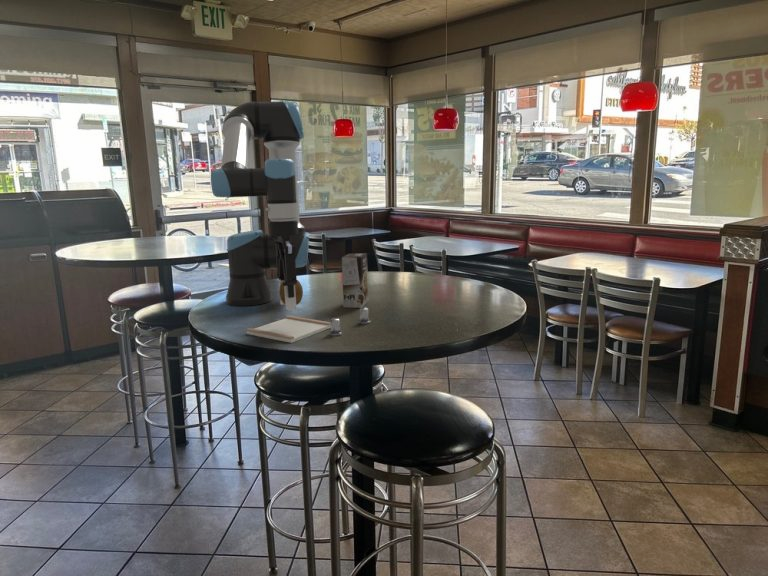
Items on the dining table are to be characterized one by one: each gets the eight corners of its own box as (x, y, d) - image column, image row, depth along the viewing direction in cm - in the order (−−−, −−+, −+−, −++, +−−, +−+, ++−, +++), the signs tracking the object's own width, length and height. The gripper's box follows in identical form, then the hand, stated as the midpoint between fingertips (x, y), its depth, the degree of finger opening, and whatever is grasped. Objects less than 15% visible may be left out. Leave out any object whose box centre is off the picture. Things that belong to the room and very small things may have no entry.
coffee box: (362, 308, 172) (361, 257, 169) (342, 307, 174) (340, 256, 170) (369, 301, 181) (367, 252, 178) (350, 301, 183) (348, 252, 179)
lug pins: (326, 334, 145) (325, 320, 144) (363, 320, 158) (362, 306, 158) (336, 336, 143) (336, 321, 142) (373, 321, 156) (372, 308, 156)
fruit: (306, 303, 151) (304, 274, 150) (301, 309, 145) (298, 279, 143) (284, 304, 152) (281, 275, 150) (277, 309, 146) (275, 280, 144)
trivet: (246, 333, 147) (246, 328, 147) (288, 320, 160) (288, 315, 160) (291, 342, 139) (291, 337, 138) (331, 327, 152) (331, 322, 151)
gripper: (262, 218, 151) (268, 301, 155) (275, 223, 133) (281, 315, 138) (289, 217, 154) (294, 298, 158) (305, 221, 136) (310, 312, 141)
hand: (288, 306), depth 148 cm, fingers closed on fruit, 6 cm apart
